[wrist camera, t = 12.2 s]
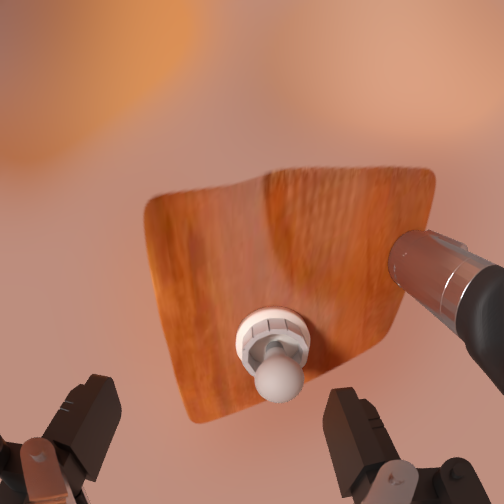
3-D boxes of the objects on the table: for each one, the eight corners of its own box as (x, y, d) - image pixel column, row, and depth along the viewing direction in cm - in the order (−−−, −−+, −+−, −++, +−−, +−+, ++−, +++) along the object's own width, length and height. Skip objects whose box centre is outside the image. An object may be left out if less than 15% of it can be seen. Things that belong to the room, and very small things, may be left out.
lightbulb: (298, 354, 41) (312, 405, 31) (259, 365, 42) (263, 417, 31) (289, 322, 40) (302, 370, 29) (247, 333, 40) (248, 384, 30)
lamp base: (290, 293, 41) (296, 309, 36) (317, 348, 44) (325, 366, 39) (222, 325, 42) (220, 343, 37) (256, 374, 45) (257, 394, 40)
